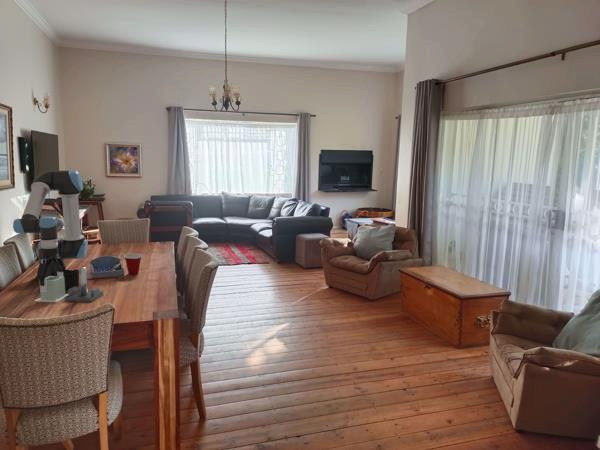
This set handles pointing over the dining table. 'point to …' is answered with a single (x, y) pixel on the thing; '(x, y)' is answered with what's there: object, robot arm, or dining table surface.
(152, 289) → the dining table surface
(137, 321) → the dining table surface
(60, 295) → the sleeve
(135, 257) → the plastic cup
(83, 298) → the block with threaded rod
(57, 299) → the mat
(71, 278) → the pen holder
